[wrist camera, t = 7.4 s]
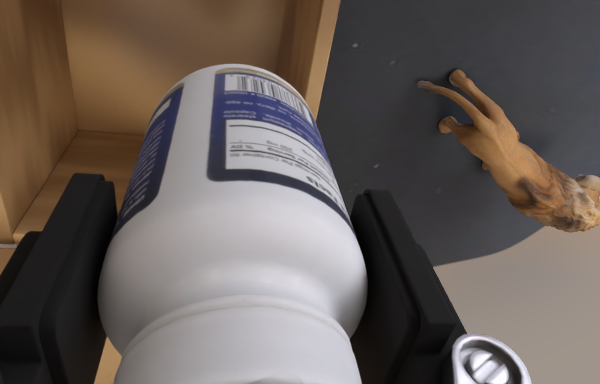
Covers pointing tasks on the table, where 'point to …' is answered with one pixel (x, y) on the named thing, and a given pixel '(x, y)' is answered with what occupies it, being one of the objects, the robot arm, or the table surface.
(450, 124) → the lion figurine
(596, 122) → the table surface
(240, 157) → the pill bottle
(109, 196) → the robot arm
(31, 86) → the case box
